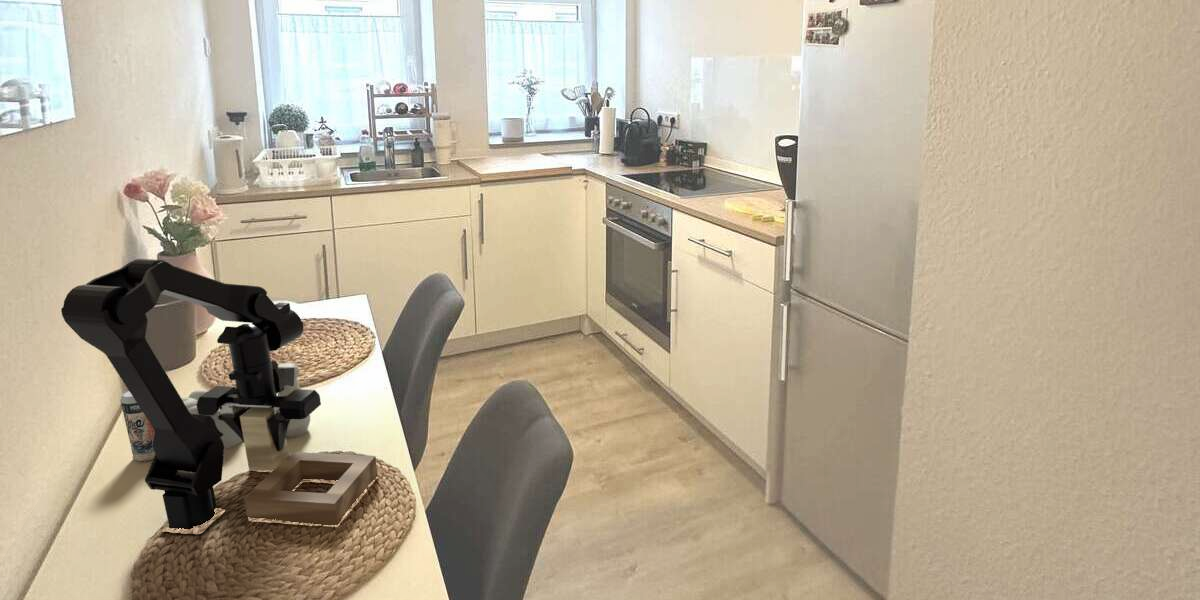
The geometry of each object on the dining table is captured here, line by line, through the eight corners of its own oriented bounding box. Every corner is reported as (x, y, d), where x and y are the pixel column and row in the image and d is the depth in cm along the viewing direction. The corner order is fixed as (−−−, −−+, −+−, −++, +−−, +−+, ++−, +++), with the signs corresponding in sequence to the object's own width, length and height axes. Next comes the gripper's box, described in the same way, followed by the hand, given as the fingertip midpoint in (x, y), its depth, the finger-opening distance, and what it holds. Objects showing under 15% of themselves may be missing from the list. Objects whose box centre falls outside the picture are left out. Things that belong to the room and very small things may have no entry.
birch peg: (274, 473, 131) (265, 417, 128) (249, 471, 132) (239, 416, 129) (289, 459, 135) (280, 405, 132) (264, 458, 136) (255, 404, 133)
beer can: (129, 465, 135) (114, 399, 132) (137, 452, 140) (122, 388, 136) (161, 460, 136) (147, 395, 133) (167, 447, 141) (154, 384, 137)
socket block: (337, 528, 115) (334, 503, 114) (248, 522, 117) (243, 498, 116) (378, 478, 128) (375, 456, 127) (296, 473, 131) (293, 451, 129)
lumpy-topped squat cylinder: (169, 437, 145) (159, 393, 142) (246, 423, 150) (239, 380, 147) (164, 463, 136) (154, 416, 133) (247, 447, 140) (239, 401, 138)
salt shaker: (300, 441, 142) (290, 372, 138) (271, 438, 143) (260, 371, 139) (318, 426, 147) (308, 360, 143) (290, 424, 148) (279, 358, 144)
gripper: (330, 345, 134) (342, 429, 139) (228, 342, 137) (242, 425, 142) (296, 370, 124) (310, 461, 128) (186, 367, 126) (203, 455, 131)
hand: (266, 449), depth 133 cm, fingers closed on birch peg, 4 cm apart
